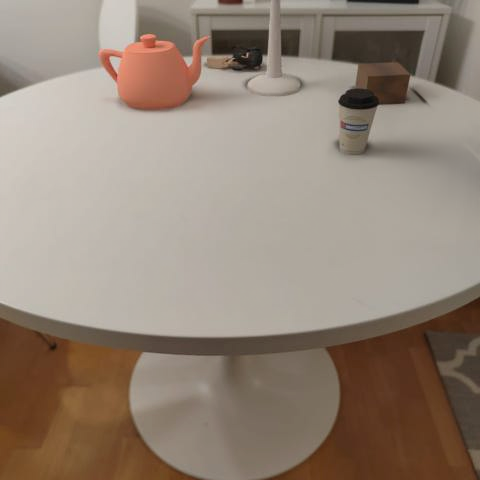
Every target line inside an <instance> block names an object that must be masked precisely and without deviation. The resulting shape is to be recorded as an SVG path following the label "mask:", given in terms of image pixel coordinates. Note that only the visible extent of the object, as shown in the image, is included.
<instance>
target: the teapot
mask: <svg viewBox="0 0 480 480" xmlns="http://www.w3.org/2000/svg"><path fill="white" fill-rule="evenodd" d="M139 38H140V41H136V42H133V43H129V44H128V45H127V46H126V47H125V48H124V50H123V51H120V50H116V49H112V48H103V49H101V50H99V52H98V59H99V61H100V64H101V65H102V67H103V69H104V70H105V71H106V73H108V75H109V76H110V77H111V78H112V80H113V81H114V82H115V83H116V88H117V95H118V97H119V98H120V99H121V100H122V102H123V103H124V104H125V105H126V106H128V107H129V108H131V109H136V110H144V111H158V110H166V109H171V108H177V107H179V106H182V105H184V103H186V101H187V100H188V99H189V97H190V95H191V93H192V90H193V86H194V85H195V84H197V82H198V81H199V80H200V76H201V74H202V53H203V47H204V45H205V43H206V42H207V41H208V39H210V38H211V35H208V36H204V37H201V38H198V39H197V40H196V41H195V43H194V44H193V49H192V60H191V61H192V62H191V63H190V65H189V66H188V64H187V62H186V61H185V58H184V56H183V55H182V53H181V52H180V50H179V49H178V47H177V46H176V44H175V43H174V42H172V41H168V40H157V35H155V34H152V33H151V34H150V33H147V34H143V35H140V36H139ZM111 57H114V58H120V62H119V65H118V69H117V72H116V70H115V68H114V66H113V64H112V62H111V59H110V58H111Z"/></svg>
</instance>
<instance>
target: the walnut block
mask: <svg viewBox="0 0 480 480" xmlns="http://www.w3.org/2000/svg"><path fill="white" fill-rule="evenodd" d="M357 64H358V65H357V71H356V77H355V78H356V79H355V86H354V89H355V88H360V89H368V90H371V91H373V92H374V95H375V96H376V97H378V99H379V105H395V104H405V103H406V99H407V93H408V89H409V84H410V79H411V76H412V75H411V73H410V72H409V71H408V70H407V69H406V68H405V67H403V66H402V64H401V63H399V61H391V62H390V61H389V62H370V63H369V62H368V63H357Z"/></svg>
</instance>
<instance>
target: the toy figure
mask: <svg viewBox="0 0 480 480" xmlns="http://www.w3.org/2000/svg"><path fill="white" fill-rule="evenodd" d="M235 48H236V49H239V50H243V51H246V53H238V52H235V53H233V54H232V56H229V55H223V56H220V57H218V56H206V65H207V68H213V69H222V68H227V67H229V66H231V65H235V66H244V67H242V68H234V67H232V70H233V71H238V72H242V71H244V70H245V69H253V70H254V69H255V70H258V69H259V68H261V65H262V63H263V59H264V56H263V52H262V50H261V49H262V48H261V47H259V46H251V47H246V46H245V45H239V44H233V46H232V50H234V49H235Z"/></svg>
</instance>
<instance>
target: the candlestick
mask: <svg viewBox="0 0 480 480" xmlns="http://www.w3.org/2000/svg"><path fill="white" fill-rule="evenodd" d="M269 7H270V8H269V25H268V44H267V59H266V60H267V61H266V71H265V73H263V74H259V75H256V76H254V77H253V78H251V79H250V80H249V81H248V83H247V91H249V92H251V93H253V94H256V95H258V96H266V97H281V96H287V95H293V94H294V93H297V92H298V91H299V90H300V89H301V82H300V81H299V79H297V77H294V76H293V75H291V74H287V73H283V69H282V67H283V66H282V25H281V24H282V23H281V21H282V20H281V19H282V18H281V0H270V6H269Z"/></svg>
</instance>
